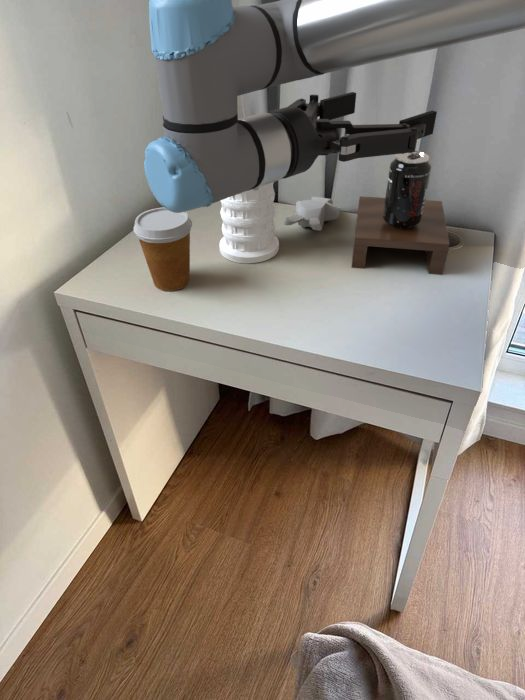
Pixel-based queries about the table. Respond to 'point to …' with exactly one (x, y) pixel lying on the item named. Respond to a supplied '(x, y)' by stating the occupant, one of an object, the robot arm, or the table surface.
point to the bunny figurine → (314, 213)
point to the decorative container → (249, 226)
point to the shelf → (401, 233)
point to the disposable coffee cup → (165, 246)
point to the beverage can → (406, 189)
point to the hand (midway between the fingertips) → (390, 111)
